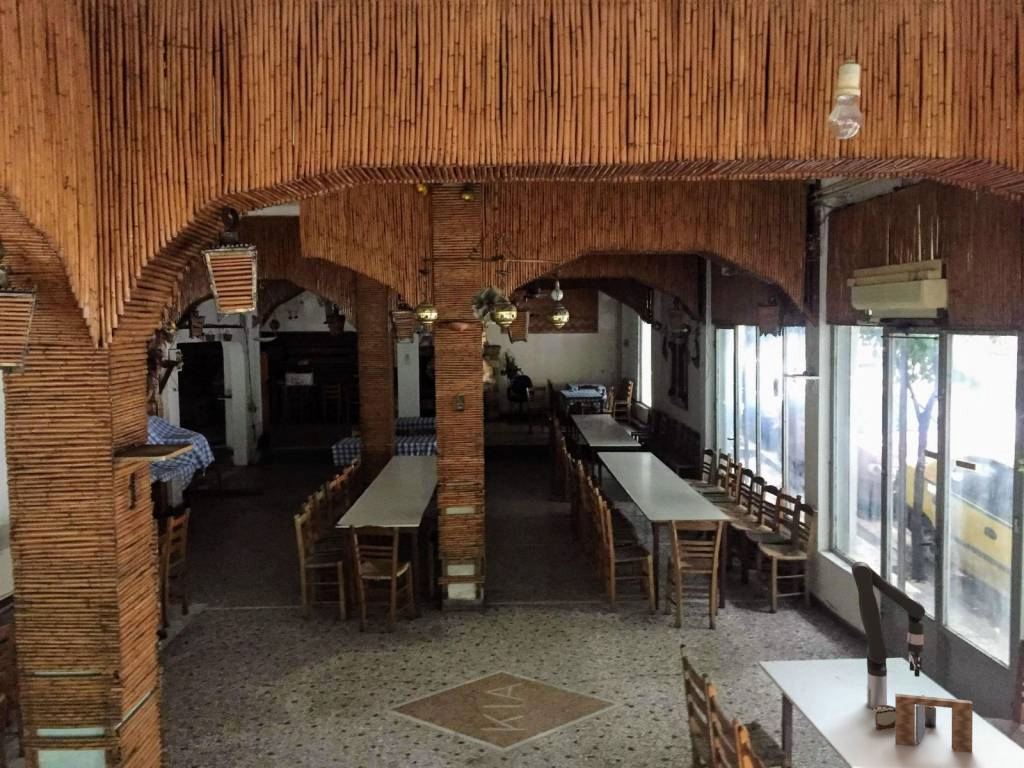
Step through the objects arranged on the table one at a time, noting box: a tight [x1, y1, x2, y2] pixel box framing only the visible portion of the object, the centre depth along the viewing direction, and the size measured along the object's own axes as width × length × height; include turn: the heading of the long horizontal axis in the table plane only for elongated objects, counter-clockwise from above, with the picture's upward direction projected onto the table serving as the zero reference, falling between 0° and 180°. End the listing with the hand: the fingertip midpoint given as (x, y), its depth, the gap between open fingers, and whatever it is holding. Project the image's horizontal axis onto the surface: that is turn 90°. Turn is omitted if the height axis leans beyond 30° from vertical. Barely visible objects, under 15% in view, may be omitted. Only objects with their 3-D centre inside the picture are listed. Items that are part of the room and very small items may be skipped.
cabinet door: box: [915, 694, 926, 745], centre depth 402 cm, size 14×3×18 cm, turn 143°
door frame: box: [894, 693, 974, 753], centre depth 394 cm, size 32×3×23 cm, turn 73°
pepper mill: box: [925, 705, 937, 729], centre depth 415 cm, size 6×6×11 cm
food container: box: [872, 704, 895, 732], centre depth 415 cm, size 12×6×10 cm, turn 102°
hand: (914, 673), depth 430 cm, fingers open, 8 cm apart
